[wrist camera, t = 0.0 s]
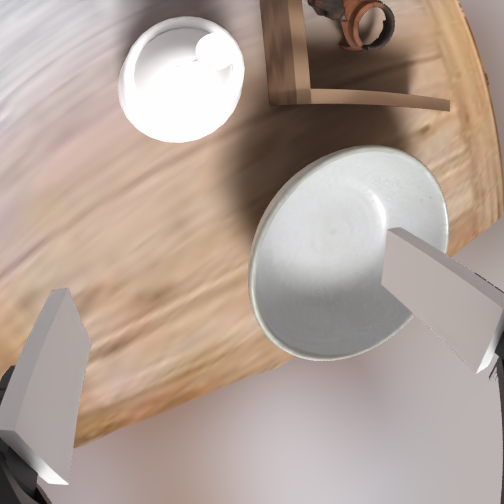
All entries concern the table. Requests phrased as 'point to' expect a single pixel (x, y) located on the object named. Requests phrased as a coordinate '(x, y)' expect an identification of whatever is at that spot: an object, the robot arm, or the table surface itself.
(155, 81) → the honey pot
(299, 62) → the walnut u-shaped frame
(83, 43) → the table surface
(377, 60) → the table surface
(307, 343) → the decorative bowl
